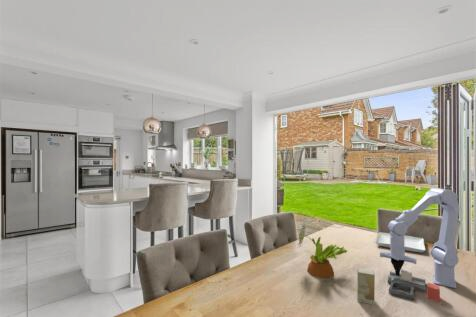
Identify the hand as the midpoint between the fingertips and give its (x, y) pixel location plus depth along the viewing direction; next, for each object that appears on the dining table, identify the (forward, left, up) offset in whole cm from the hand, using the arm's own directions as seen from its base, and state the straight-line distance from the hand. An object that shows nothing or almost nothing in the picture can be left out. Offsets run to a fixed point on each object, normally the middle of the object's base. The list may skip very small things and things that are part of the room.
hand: (397, 275), depth 119 cm
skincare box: (+27, -9, -3) cm, 29 cm away
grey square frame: (+11, +2, -3) cm, 12 cm away
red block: (+8, +13, -3) cm, 16 cm away
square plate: (-60, -5, -3) cm, 60 cm away
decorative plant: (+13, -32, -3) cm, 34 cm away
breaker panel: (0, +3, -3) cm, 4 cm away
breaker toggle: (0, +3, -1) cm, 4 cm away
